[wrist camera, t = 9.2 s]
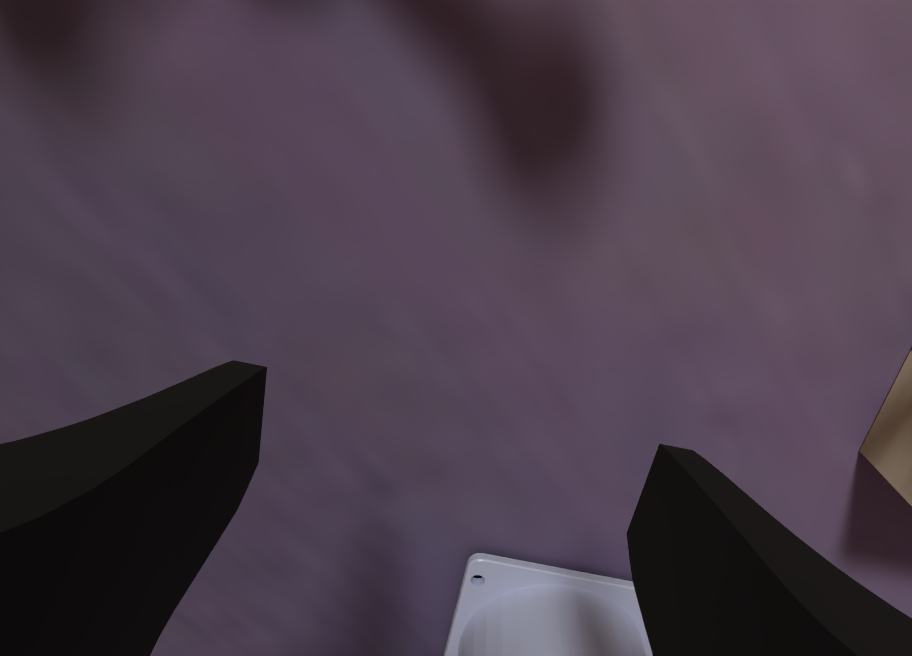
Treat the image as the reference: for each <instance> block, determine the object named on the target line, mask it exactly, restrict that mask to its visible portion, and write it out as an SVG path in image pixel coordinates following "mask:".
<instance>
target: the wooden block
mask: <svg viewBox="0 0 912 656" xmlns="http://www.w3.org/2000/svg"><path fill="white" fill-rule="evenodd" d="M860 452H861V453H862V454H863V455H864V457H865V458H866V459H867V460H868V461H869V462H870V463H871V464H872V465H873V466H874V467H875V468H876V469H877V470H878V471H879V472H880V473H881V474H882V476H883V477H884V478H885V479H886V480H887V481H888V482H889V483H890V484H891V485H892V486H893V487H894V488H895V489H896V490H897V491H898V492H899V493H900V495H901V496H902V497H903V498H904V499H905V500H906V501H907V502H908V503H909V504H910V505H911V506H912V349H911V351H910V353H909V355H908V357H907V359H906V361H905V363H904V365H903V366H902V368H901V370H900V372H899V374H898V376H897V378H896V380H895V382H894V384H893V386H892V388H891V390H890V392H889V394H888V396H887V398H886V400H885V402H884V404H883V406H882V408H881V410H880V412H879V414H878V416H877V418H876V420H875V421H874V423H873V425H872V427H871V429H870V431H869V433H868V435H867V437H866V439H865V441H864V443H863V445H862V447H861V449H860Z"/></svg>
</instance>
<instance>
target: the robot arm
mask: <svg viewBox="0 0 912 656" xmlns="http://www.w3.org/2000/svg"><path fill="white" fill-rule="evenodd" d="M266 372H267V367H264V366H259V365H254V364H249V363H244V362H239V361H234V360H233V361H230V362H227V363H224V364H222V365H219V366H217V367H215V368H212V369H210V370H208V371H205V372H203V373H201V374H199V375H196V376H194V377H192V378H190V379H187V380H185V381H183V382H180V383H178V384H176V385H174V386H171V387H169V388H167V389H164V390H162V391H160V392H157V393H155V394H153V395H151V396H148V397H146V398H143V399H141V400H138V401H135V402H133V403H130V404H127V405H125V406H122V407H120V408H117V409H114V410H112V411H109V412H107V413H104V414H101V415H99V416H96V417H93V418H91V419H88V420H85V421H82V422H79V423H76V424H72V425H69V426H66V427H63V428H60V429H56V430H53V431H49V432H46V433H42V434H39V435H35V436H32V437H28V438H24V439H21V440H17V441H13V442H8V443H4V444H0V656H150V654H151V652H152V650H153V648H154V646H155V644H156V642H157V640H158V638H159V636H160V634H161V633H162V631H163V629H164V627H165V626H166V624H167V622H168V620H169V619H170V617H171V615H172V613H173V612H174V610H175V608H176V607H177V605H178V604H179V602H180V600H181V599H182V597H183V596H184V594H185V593H186V591H187V589H188V588H189V586H190V585H191V583H192V581H193V580H194V578H195V577H196V575H197V573H198V572H199V570H200V569H201V567H202V565H203V564H204V562H205V561H206V559H207V558H208V556H209V554H210V553H211V551H212V550H213V548H214V546H215V545H216V543H217V542H218V540H219V538H220V537H221V535H222V534H223V532H224V530H225V529H226V527H227V525H228V524H229V522H230V521H231V519H232V517H233V516H234V514H235V512H236V511H237V509H238V507H239V505H240V503H241V501H242V498H243V496H244V494H245V492H246V490H247V488H248V485H249V483H250V481H251V479H252V476H253V474H254V472H255V469H256V467H257V465H258V462H259V451H260V440H261V429H262V417H263V406H264V395H265V383H266ZM627 540H628V549H629V558H630V565H631V572H632V579H633V582H632V581H626V580H621V579H616V578H611V577H605V576H600V575H595V574H590V573H584V572H579V571H574V570H569V569H563V568H558V567H553V566H548V565H542V564H537V563H532V562H527V561H521V560H516V559H511V558H506V557H500V556H495V555H490V554H485V553H477V554H473V555H472V556H471V557H469V559H468V561H467V565H466V569H465V573H464V577H463V581H462V584H461V588H460V592H459V596H458V600H457V604H456V608H455V612H454V616H453V620H452V624H451V628H450V632H449V636H448V640H447V644H446V648H445V652H444V656H912V618H910V617H908V616H907V615H905V614H904V613H902V612H901V611H899V610H897V609H896V608H894V607H893V606H891V605H890V604H888V603H887V602H885V601H884V600H883V599H881V598H880V597H878V596H877V595H875V594H874V593H872V592H871V591H869V590H868V589H866V588H865V587H863V586H862V585H861V584H859V583H858V582H856V581H855V580H853V579H852V578H850V577H849V576H848V575H846V574H845V573H844V572H842V571H841V570H839V569H838V568H837V567H835V566H834V565H833V564H831V563H830V562H829V561H827V560H826V559H825V558H824V557H822V556H821V555H820V554H818V553H817V552H816V551H815V550H813V549H812V548H811V547H809V546H808V545H807V544H806V543H804V542H803V541H802V540H800V539H799V538H798V537H797V536H796V535H794V534H793V533H792V532H791V531H789V530H788V529H787V528H786V527H785V526H783V525H782V524H781V523H780V522H779V521H777V520H776V519H775V518H774V517H773V516H771V515H770V514H769V513H768V512H767V511H766V510H764V509H763V508H762V507H761V506H760V505H759V504H757V503H756V502H755V501H754V500H753V499H752V498H750V497H749V496H748V495H747V494H746V493H745V492H743V491H742V490H741V489H740V488H739V487H738V486H737V485H735V484H734V483H733V482H732V481H731V480H730V479H728V478H727V477H726V476H725V475H724V474H723V473H721V472H720V471H719V470H718V469H717V468H715V467H714V466H713V465H712V464H711V463H709V462H708V461H707V460H705V459H704V458H703V457H701V456H700V455H699V454H697V453H696V452H694V451H693V450H688V449H683V448H678V447H673V446H668V445H663V444H659V447H658V449H657V452H656V455H655V458H654V460H653V463H652V466H651V469H650V471H649V474H648V477H647V479H646V482H645V485H644V488H643V490H642V493H641V496H640V498H639V501H638V504H637V507H636V509H635V512H634V515H633V518H632V520H631V523H630V526H629V528H628V531H627ZM475 575H480V576H482V578H475V577H473V576H475Z"/></svg>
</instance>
